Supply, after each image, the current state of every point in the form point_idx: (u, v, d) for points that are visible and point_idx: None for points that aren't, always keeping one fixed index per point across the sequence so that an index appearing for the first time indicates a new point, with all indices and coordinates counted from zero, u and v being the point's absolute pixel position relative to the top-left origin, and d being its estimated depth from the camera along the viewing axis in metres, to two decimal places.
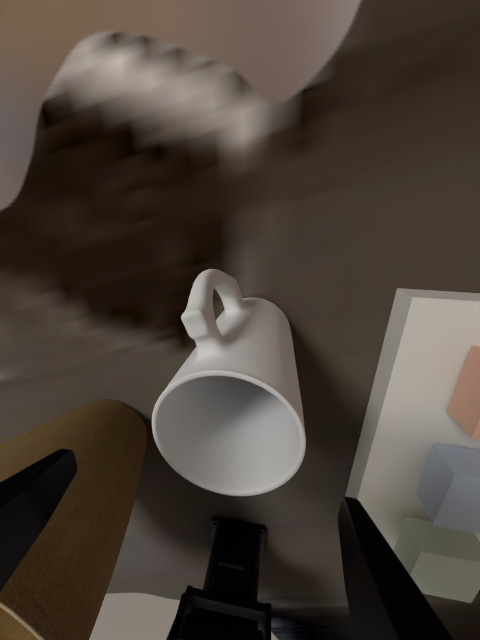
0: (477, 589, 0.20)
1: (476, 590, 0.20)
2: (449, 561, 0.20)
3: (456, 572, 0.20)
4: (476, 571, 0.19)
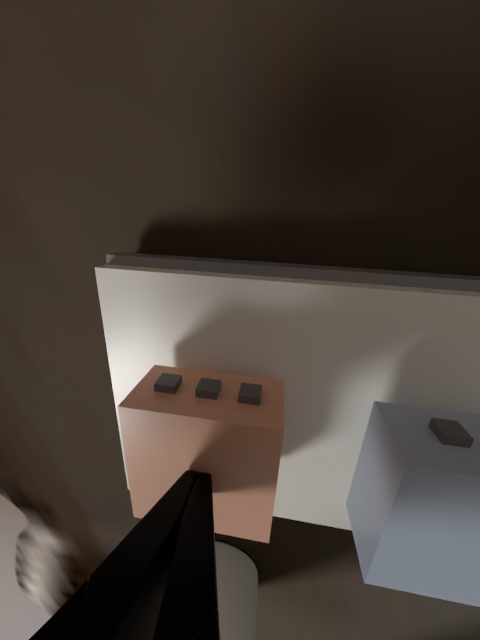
0: None
1: None
2: None
3: None
4: None
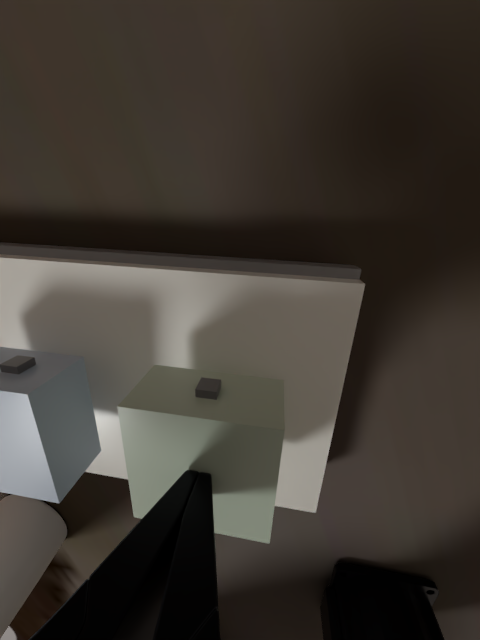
0: (219, 424, 0.08)
1: (224, 426, 0.08)
2: (141, 477, 0.09)
3: (172, 465, 0.08)
4: (152, 434, 0.08)
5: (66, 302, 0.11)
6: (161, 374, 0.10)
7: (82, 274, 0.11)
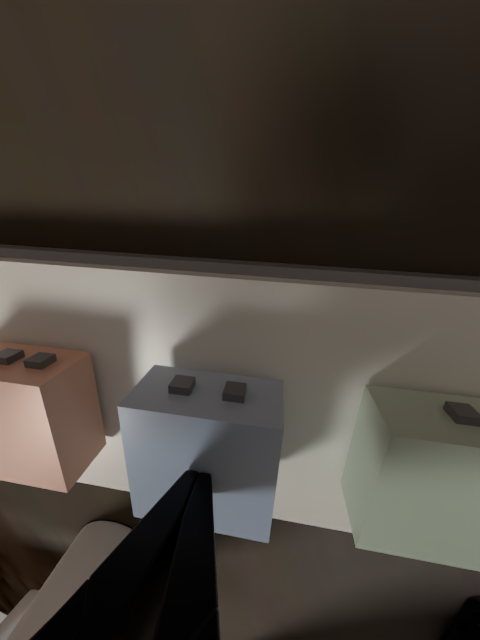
0: None
1: None
2: (386, 508, 0.08)
3: (432, 498, 0.08)
4: (423, 465, 0.07)
5: (248, 325, 0.10)
6: (387, 396, 0.09)
7: (278, 294, 0.09)
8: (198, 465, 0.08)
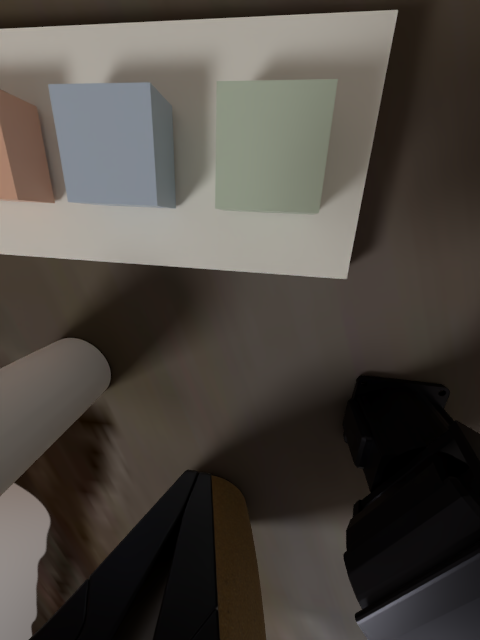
0: (291, 83, 0.11)
1: (294, 85, 0.11)
2: (226, 158, 0.12)
3: (251, 139, 0.12)
4: (240, 106, 0.11)
5: (145, 66, 0.14)
6: None
7: (161, 33, 0.13)
8: (103, 132, 0.12)
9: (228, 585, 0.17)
